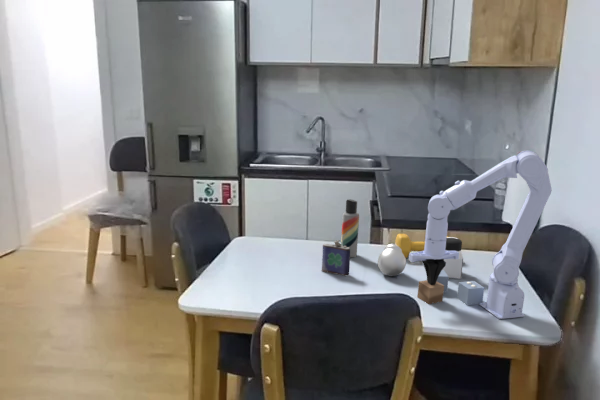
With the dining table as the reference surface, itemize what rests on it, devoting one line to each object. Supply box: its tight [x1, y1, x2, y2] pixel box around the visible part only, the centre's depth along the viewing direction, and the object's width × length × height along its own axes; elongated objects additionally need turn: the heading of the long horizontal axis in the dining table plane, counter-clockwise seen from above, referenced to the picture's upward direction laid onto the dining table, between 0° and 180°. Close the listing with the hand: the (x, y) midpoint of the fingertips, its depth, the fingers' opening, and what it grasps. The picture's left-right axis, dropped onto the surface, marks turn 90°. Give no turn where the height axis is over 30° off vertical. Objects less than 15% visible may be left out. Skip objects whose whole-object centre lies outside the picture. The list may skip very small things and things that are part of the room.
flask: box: [321, 239, 351, 277], centre depth 171 cm, size 9×3×11 cm, turn 65°
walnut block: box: [417, 279, 445, 305], centre depth 153 cm, size 5×5×5 cm
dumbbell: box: [394, 233, 449, 259], centre depth 188 cm, size 19×9×8 cm, turn 91°
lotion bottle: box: [340, 198, 360, 259], centre depth 186 cm, size 6×6×20 cm
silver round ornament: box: [377, 243, 407, 277], centre depth 171 cm, size 9×10×10 cm
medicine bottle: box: [442, 236, 464, 280], centre depth 173 cm, size 7×7×12 cm
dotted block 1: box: [437, 270, 449, 293], centre depth 162 cm, size 5×5×5 cm
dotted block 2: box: [456, 280, 485, 306], centre depth 154 cm, size 5×5×5 cm
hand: (431, 283), depth 153 cm, fingers closed, pressing on walnut block
